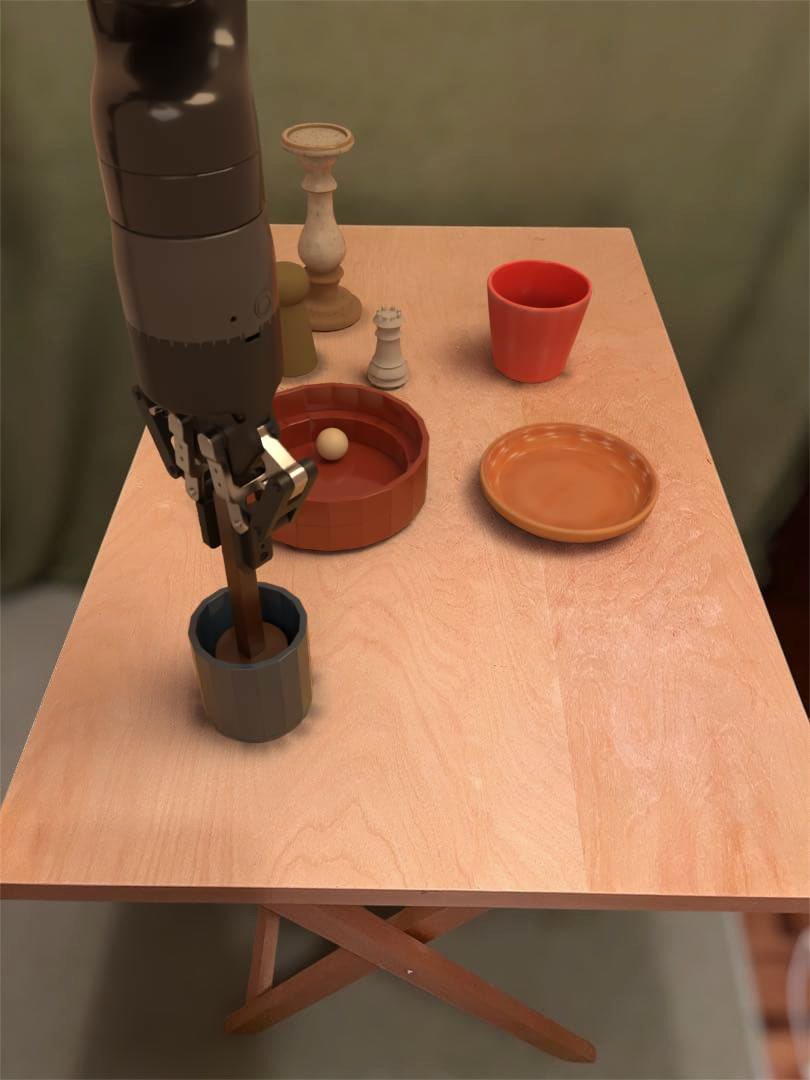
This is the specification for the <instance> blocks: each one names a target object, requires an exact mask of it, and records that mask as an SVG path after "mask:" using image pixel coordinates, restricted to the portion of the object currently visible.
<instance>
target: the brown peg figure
mask: <svg viewBox="0 0 810 1080" xmlns="http://www.w3.org/2000/svg"><path fill="white" fill-rule="evenodd" d="M276 266H277V278H278V291H279V303H280V316H281V329H282V341H283V354H284V374H283V378H294V377H300V376H304V375H306V374H308V373H310V372H312V371H313V370H314V369H315V368H316V367H317V365H318V356H317V351H316V345H315V341H314V336H313V335H314V334H313V330H311V325H310V320H309V315H308V310H307V306H306V301H305V297H306V296H307V294H308V291H309V286H310V282H309V277H308V274H307V272H306V271H305V269H304V267H303V266H302V265H301V264H299V263H296V262H294V261H286V260H285V261H284V260H282V261H276Z"/></svg>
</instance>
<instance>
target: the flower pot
mask: <svg viewBox="0 0 810 1080" xmlns="http://www.w3.org/2000/svg"><path fill="white" fill-rule="evenodd" d="M486 291H487V292H486V293H487V309H488V319H489V320H488V322H489V332H490V342H491V350H492V359H493V364H494V367H495V368H496V369H497V370H498V371H499V372H500V373H502V375H504V376H505V377H508V378H509V379H511V380H514V381H519V382H523V383H532V384H533V383H534V384H535V383H543V382H548V381H551V380H553V379H555V378H557V377H558V376H559V375H561V373H562V372H563V371H564V368H565V367H566V364H567V361H568V359H569V357H570V354H571V351H572V349H573V346H574V344H575V342H576V338H577V336H578V333H579V331H580V328H581V324H582V322H583V320H584V317H585V315H586V312H587V310H588V306H589V305H590V300H591V297H592V294H593V284H592V282H591V280H590V279H589V278H588V276H587V275H585V274H584V273H583V272H582V271H580V270H578V269H577V268H574V267H572V266H570V265H566V264H564V263H560V262H557V261H551V260H546V259H545V260H544V259H519V260H513V261H509V262H506V263H504V264H501V265H499V266H498V267H496V268H495V269H493V270H492V271H491V272H490V273H489V275H488V277H487V280H486Z"/></svg>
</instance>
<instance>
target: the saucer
mask: <svg viewBox="0 0 810 1080" xmlns="http://www.w3.org/2000/svg"><path fill="white" fill-rule="evenodd" d="M480 459H481V460H480V462H479V482H480V486H481V487H480V488H481V490H482V492H483V495H484V496H485V498H486V500H487V501H488V503H489V504H490V505H491V506H492V508H493V509H494V510H495V511H496V512H498V514H500V515H501V516H502V517H503V518H505V520H507V521H508V522H510V523H511V524H513V525H514V526H516V527H518V528H519V529H521V530H523V531H526V532H527V533H529V534H532V535H534V536H537V537H540V538H543V539H546V540H550V541H553V542H562V543H571V544H574V543H575V544H580V543H592V542H599V541H600V542H601V541H605V540H609V539H613V538H615V537H618V536H621V535H624V534H626V533H628V532H630V531H632V530H634V529H636V528H637V527H639V526H640V525H641V524H642V523H643V522H644V521H646V520H647V518H648V517H649V516H650V515H651V513H652V512H653V509H654V507H655V505H656V504H657V502H658V499H659V497H660V489H661V488H660V484H661V483H660V480H659V475H658V473H657V470H656V468H655V467H654V465H653V464H652V462H651V461H650V460H649V458H648V457H647V456H646V455H645V454H644V453H643V452H642V451H641V450H640V449H639V448H637V447H636V446H634V445H633V444H632V443H630V442H629V441H627V440H625V439H624V438H622V437H620V436H618V435H616V434H614V433H611V432H609V431H606V430H603V429H601V428H598V427H594V426H590V425H585V424H581V423H575V422H566V421H565V422H564V421H563V422H562V421H560V422H559V421H550V422H549V421H547V422H545V421H544V422H538V423H531V424H526V425H522V426H519V427H516V428H514V429H511V430H508V431H507V432H505V433H503V434H501V435H500V436H499V437H497V438H496V439H494V440H493V441H492V442H491V443H490V444H489V445H488V446H487V448H486V449H485V451H484V453H483V454H482V456H481V458H480Z"/></svg>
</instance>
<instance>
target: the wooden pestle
mask: <svg viewBox="0 0 810 1080" xmlns="http://www.w3.org/2000/svg"><path fill="white" fill-rule="evenodd" d="M213 497H214V503H215V509H216V516H217V522H218V528H219V535H220V541H221V546H220V547H221V552H222V558H223V566H224V573H225V579H226V584H227V585H226V586H227V587H228V591H229V597H230V604H231V610H232V616H233V622H234V626H233V627H231V628H230V629H228V630H227V631H226V632H225V633H224V634H223V635H222V636H221V637H220V638H219V640H218V642H217V644H216V647H215V658H216V659H219V660H222V661H225V662H228V663H232V664H255V663H258V662H261V661H264V660H267V659H270V658H273V657H275V656H277V655H278V654H279V653H281V652H282V651H283V650H285V649H286V648H287V647H289V646H288V640H287V638H286V636H285V634H284V633H283V632H282V631H281V630H280V629H279V628H277V627H276V626H274V625H272V624H269V623H266V622H262V615H261V607H260V599H259V591H258V583H257V582H258V576H257V569H256V570H254V571H253V572H251V573H250V574H245V573H243V572H242V571H241V570H239V569H238V568H237V567H236V561H235V554H234V548H233V541H232V534H231V527H230V526H232V524H231V521H230V517H229V513H228V508H227V504H226V500H224V499H222V498H220V497H218V496H217V495H216V493H215V490H214V491H213ZM245 505H246V506H247V505H248V504H247V498H246V499H245Z"/></svg>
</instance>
